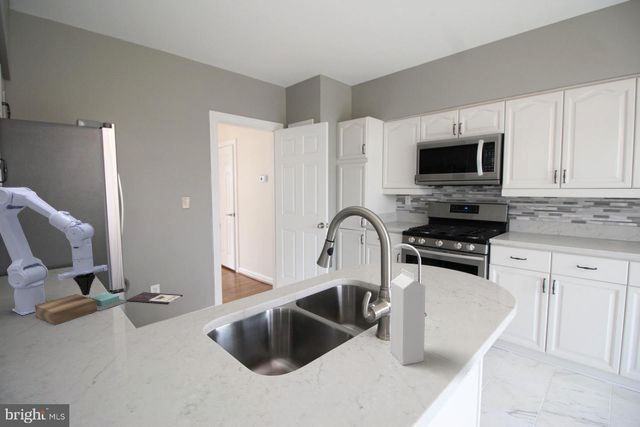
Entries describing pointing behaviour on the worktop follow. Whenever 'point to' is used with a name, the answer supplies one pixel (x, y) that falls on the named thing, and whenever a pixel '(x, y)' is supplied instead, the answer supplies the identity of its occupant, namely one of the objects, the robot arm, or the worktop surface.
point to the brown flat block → (65, 309)
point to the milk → (407, 318)
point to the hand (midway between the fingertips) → (85, 294)
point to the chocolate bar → (154, 298)
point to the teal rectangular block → (105, 298)
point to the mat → (111, 305)
